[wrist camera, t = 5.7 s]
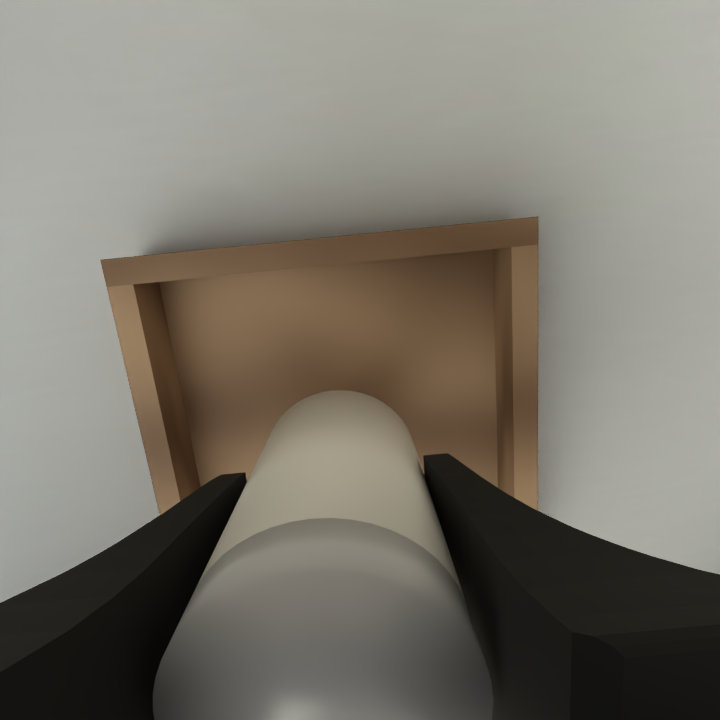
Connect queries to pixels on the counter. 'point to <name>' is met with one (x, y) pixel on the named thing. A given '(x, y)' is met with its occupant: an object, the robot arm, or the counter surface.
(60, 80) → the counter surface
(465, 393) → the walnut tray
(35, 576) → the counter surface
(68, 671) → the robot arm
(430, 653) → the cylinder
